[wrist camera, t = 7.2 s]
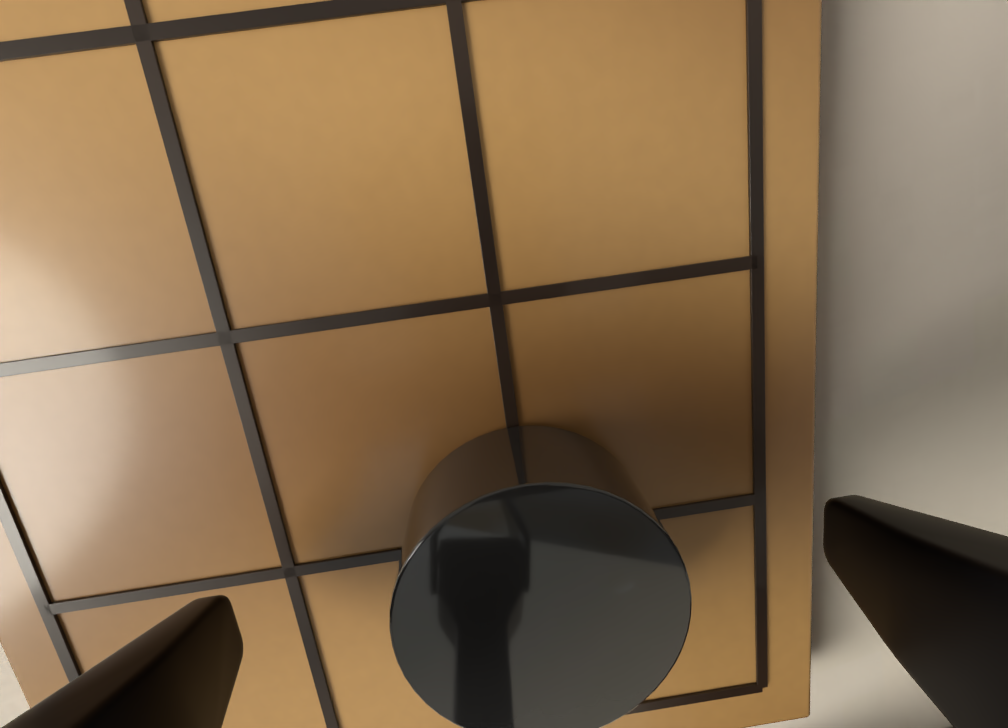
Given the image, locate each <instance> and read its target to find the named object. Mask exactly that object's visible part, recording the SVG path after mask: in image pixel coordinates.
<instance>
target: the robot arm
mask: <svg viewBox="0 0 1008 728" xmlns="http://www.w3.org/2000/svg"><path fill="white" fill-rule="evenodd" d="M823 547H824V553H825V556H826V559H827V561H828V563H829V564H830V566H831V567H832V569H833V570H834V572H835V573H836V574H837V576H838V577H839V579H840V580H841V581H842V583H843V584H844V586H845V587H846V589H847V590H848V591H849V593H850V594H851V596H852V597H853V598H854V600H855V601H856V603H857V604H858V606H859V607H860V608H861V610H862V611H863V613H864V614H865V615H866V617H867V618H868V620H869V621H870V623H871V624H872V625H873V627H874V628H875V630H876V631H877V632H878V634H879V635H880V637H881V638H882V640H883V641H884V642H885V644H886V645H887V646H888V648H889V649H890V650H891V652H892V653H893V654H894V656H895V657H896V658H897V660H898V661H899V662H900V663H901V664H902V666H903V667H904V668H905V669H906V671H907V672H908V673H909V674H910V676H911V677H912V678H913V679H914V680H915V681H916V683H917V684H918V685H919V686H920V687H921V689H922V690H923V691H924V692H925V693H926V694H927V696H928V697H929V698H930V699H931V700H932V702H933V703H934V704H935V705H936V706H937V707H938V709H939V710H940V711H941V712H942V713H943V715H944V716H945V717H946V718H947V719H948V721H949V722H950V723H951V724H952V725H953V726H954V728H1008V536H1004V535H1000V534H997V533H993V532H989V531H986V530H982V529H978V528H975V527H971V526H968V525H964V524H960V523H957V522H953V521H949V520H946V519H942V518H938V517H935V516H931V515H927V514H924V513H920V512H917V511H913V510H909V509H906V508H902V507H898V506H895V505H891V504H887V503H884V502H880V501H876V500H873V499H869V498H866V497H862V496H858V495H850V496H844V497H837V498H832V499H829V500H828V501H827V502H826V504H825V507H824V535H823ZM242 657H243V639H242V636H241V632H240V629H239V626H238V623H237V620H236V617H235V613H234V610H233V607H232V604H231V602H230V600H229V599H228V597H226V596H224V595H216V596H209V597H203V598H198V599H195V600H193V601H191V602H190V603H188V604H187V605H185V606H184V607H182V608H181V609H179V610H178V611H176V612H175V613H173V614H172V615H170V616H169V617H167V618H166V619H164V620H163V621H161V622H160V623H158V624H157V625H155V626H154V627H152V628H151V629H149V630H148V631H146V632H145V633H143V634H142V635H140V636H139V637H137V638H136V639H134V640H133V641H131V642H130V643H128V644H127V645H125V646H124V647H122V648H121V649H119V650H118V651H116V652H115V653H113V654H112V655H110V656H109V657H107V658H106V659H104V660H103V661H101V662H100V663H98V664H97V665H95V666H94V667H92V668H91V669H89V670H88V671H86V672H85V673H83V674H82V675H80V676H79V677H77V678H76V679H74V680H73V681H71V682H70V683H68V684H67V685H65V686H63V687H62V688H60V689H59V690H57V691H56V692H54V693H53V694H51V695H50V696H48V697H47V698H45V699H44V700H42V701H41V702H39V703H38V704H36V705H35V706H33V707H32V708H30V709H29V710H27V711H26V712H24V713H23V714H21V715H20V716H18V717H17V718H15V719H14V720H12V721H11V722H9V723H8V724H6V725H5V726H3V727H2V728H222V725H223V721H224V718H225V715H226V711H227V708H228V705H229V701H230V698H231V695H232V691H233V688H234V685H235V681H236V678H237V675H238V671H239V668H240V665H241V661H242Z"/></svg>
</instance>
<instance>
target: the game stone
mask: <svg viewBox="0 0 1008 728" xmlns="http://www.w3.org/2000/svg"><path fill="white" fill-rule="evenodd" d="M691 606H692V595H691V587H690V579H689V576H688V572H687V569H686V565H685V562H684V560H683V558H682V556H681V554H680V552H679V550H678V548H677V546H676V545H675V543H674V541H673V540H672V538H671V537H670V535H669V534H668V532H667V531H666V529H665V528H664V526H663V525H662V523H661V522H660V520H659V519H658V517H657V515H656V514H655V512H654V511H653V509H652V508H651V506H650V505H649V503H648V502H647V500H646V499H645V497H644V496H643V494H642V493H641V491H640V490H639V488H638V486H637V485H636V483H635V482H634V480H633V479H632V477H631V476H630V474H629V473H628V471H627V470H626V468H625V467H624V466H623V465H622V464H621V463H620V462H619V461H618V460H617V458H616V457H615V456H613V455H612V454H611V453H610V452H609V451H607V450H606V449H605V448H604V447H602V446H600V445H599V444H597V443H596V442H594V441H592V440H591V439H589V438H586V437H584V436H582V435H580V434H577V433H574V432H571V431H568V430H564V429H561V428H555V427H549V426H533V425H526V426H515V427H509V428H504V429H499V430H495V431H492V432H489V433H486V434H483V435H480V436H478V437H476V438H474V439H472V440H470V441H468V442H466V443H464V444H463V445H461V446H460V447H458V448H457V449H455V450H454V451H452V452H451V453H450V454H448V455H447V456H446V457H445V458H444V459H443V460H442V461H440V462H439V463H438V464H437V466H436V467H435V468H434V469H433V470H432V471H431V472H430V473H429V475H428V476H427V478H426V479H425V481H424V482H423V483H422V485H421V486H420V488H419V490H418V492H417V494H416V496H415V498H414V501H413V504H412V507H411V510H410V513H409V517H408V521H407V526H406V531H405V535H404V540H403V545H402V549H401V554H400V559H399V563H398V568H397V573H396V577H395V582H394V587H393V591H392V597H391V603H390V609H389V630H390V637H391V644H392V647H393V650H394V654H395V657H396V660H397V663H398V665H399V667H400V669H401V671H402V673H403V675H404V677H405V678H406V680H407V681H408V683H409V684H410V686H411V687H412V689H413V690H414V691H415V693H416V694H417V695H418V696H419V697H420V698H421V699H422V700H423V701H424V702H425V703H426V704H427V705H428V706H429V707H430V708H432V709H433V710H434V711H435V712H437V713H438V714H439V715H441V716H442V717H444V718H445V719H447V720H449V721H450V722H452V723H453V724H455V725H458V726H460V727H462V728H601V727H603V726H605V725H608V724H610V723H612V722H614V721H615V720H617V719H619V718H620V717H622V716H624V715H626V714H627V713H629V712H630V711H631V710H633V709H634V708H635V707H637V706H638V705H639V704H641V703H642V702H643V701H644V700H645V699H646V698H648V697H649V696H650V695H651V694H652V693H653V692H654V691H655V690H656V689H657V688H658V686H659V685H660V684H661V683H662V682H663V680H664V679H665V678H666V677H667V675H668V674H669V672H670V671H671V669H672V668H673V666H674V665H675V663H676V661H677V659H678V657H679V655H680V653H681V651H682V649H683V646H684V643H685V640H686V637H687V634H688V631H689V625H690V619H691Z"/></svg>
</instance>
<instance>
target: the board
mask: <svg viewBox="0 0 1008 728" xmlns="http://www.w3.org/2000/svg"><path fill="white" fill-rule="evenodd" d="M821 13H822V0H0V642H1V645H2V647H3V649H4V651H5V653H6V656H7V658H8V660H9V662H10V664H11V667H12V669H13V671H14V673H15V675H16V678H17V680H18V682H19V684H20V686H21V689H22V691H23V693H24V695H25V697H26V700H27V702H28V704H29V706H30V708H32V707H33V706H35V705H36V704H38V703H39V702H41V701H42V700H44V699H45V698H47V697H48V696H50V695H51V694H53V693H54V692H56V691H57V690H59V689H60V688H62V687H63V686H65V685H67V684H68V683H70V682H71V681H73V680H74V679H76V678H77V677H79V676H80V675H82V674H83V673H85V672H86V671H88V670H89V669H91V668H92V667H94V666H95V665H97V664H98V663H100V662H101V661H103V660H104V659H106V658H107V657H109V656H110V655H112V654H113V653H115V652H116V651H118V650H119V649H121V648H122V647H124V646H125V645H127V644H128V643H130V642H131V641H133V640H134V639H136V638H137V637H139V636H140V635H142V634H143V633H145V632H146V631H148V630H149V629H151V628H152V627H154V626H155V625H157V624H158V623H160V622H161V621H163V620H164V619H166V618H167V617H169V616H170V615H172V614H173V613H175V612H176V611H178V610H179V609H181V608H182V607H184V606H185V605H187V604H188V603H190V602H191V601H193V600H195V599H198V598H203V597H209V596H216V595H224V596H226V597H228V599H229V600H230V602H231V604H232V607H233V610H234V613H235V617H236V620H237V623H238V626H239V629H240V632H241V636H242V639H243V657H242V661H241V665H240V668H239V671H238V675H237V678H236V681H235V685H234V688H233V691H232V695H231V698H230V701H229V705H228V708H227V711H226V715H225V718H224V721H223V725H222V728H462V727H460V726H458V725H455V724H453V723H452V722H450V721H449V720H447V719H445V718H444V717H442V716H441V715H439V714H438V713H437V712H435V711H434V710H433V709H432V708H430V707H429V706H428V705H427V704H426V703H425V702H424V701H423V700H422V699H421V698H420V697H419V696H418V695H417V694H416V693H415V691H414V690H413V689H412V687H411V686H410V684H409V683H408V681H407V680H406V678H405V677H404V675H403V673H402V671H401V669H400V667H399V665H398V663H397V660H396V657H395V654H394V650H393V647H392V644H391V637H390V630H389V609H390V603H391V597H392V591H393V587H394V582H395V577H396V573H397V568H398V563H399V559H400V554H401V549H402V545H403V540H404V535H405V531H406V526H407V521H408V517H409V513H410V510H411V507H412V504H413V501H414V498H415V496H416V494H417V492H418V490H419V488H420V486H421V485H422V483H423V482H424V481H425V479H426V478H427V476H428V475H429V473H430V472H431V471H432V470H433V469H434V468H435V467H436V466H437V464H438V463H439V462H440V461H442V460H443V459H444V458H445V457H446V456H447V455H448V454H450V453H451V452H452V451H454V450H455V449H457V448H458V447H460V446H461V445H463V444H464V443H466V442H468V441H470V440H472V439H474V438H476V437H478V436H480V435H483V434H486V433H489V432H492V431H495V430H499V429H504V428H509V427H515V426H526V425H533V426H549V427H555V428H561V429H564V430H568V431H571V432H574V433H577V434H580V435H582V436H584V437H586V438H589V439H591V440H592V441H594V442H596V443H597V444H599V445H600V446H602V447H604V448H605V449H606V450H607V451H609V452H610V453H611V454H612V455H613V456H615V457H616V458H617V460H618V461H619V462H620V463H621V464H622V465H623V466H624V467H625V468H626V470H627V471H628V473H629V474H630V476H631V477H632V479H633V480H634V482H635V483H636V485H637V486H638V488H639V490H640V491H641V493H642V494H643V496H644V497H645V499H646V500H647V502H648V503H649V505H650V506H651V508H652V509H653V511H654V512H655V514H656V515H657V517H658V519H659V520H660V522H661V523H662V525H663V526H664V528H665V529H666V531H667V532H668V534H669V535H670V537H671V538H672V540H673V541H674V543H675V545H676V546H677V548H678V550H679V552H680V554H681V556H682V558H683V560H684V562H685V565H686V569H687V572H688V576H689V579H690V587H691V595H692V606H691V619H690V625H689V631H688V634H687V637H686V640H685V643H684V646H683V649H682V651H681V653H680V655H679V657H678V659H677V661H676V663H675V665H674V666H673V668H672V669H671V671H670V672H669V674H668V675H667V677H666V678H665V679H664V680H663V682H662V683H661V684H660V685H659V686H658V688H657V689H656V690H655V691H654V692H653V693H652V694H651V695H650V696H649V697H648V698H646V699H645V700H644V701H643V702H642V703H641V704H639V705H638V706H637V707H635V708H634V709H633V710H631V711H630V712H629V713H627V714H626V715H624V716H622V717H620V718H619V719H617V720H615V721H614V722H612V723H610V724H608V725H605V726H603V727H601V728H745V727H751V726H757V725H763V724H769V723H775V722H780V721H786V720H792V719H798V718H804V717H808V716H809V715H810V667H811V607H812V548H813V489H814V429H815V370H816V310H817V251H818V191H819V132H820V73H821Z"/></svg>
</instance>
